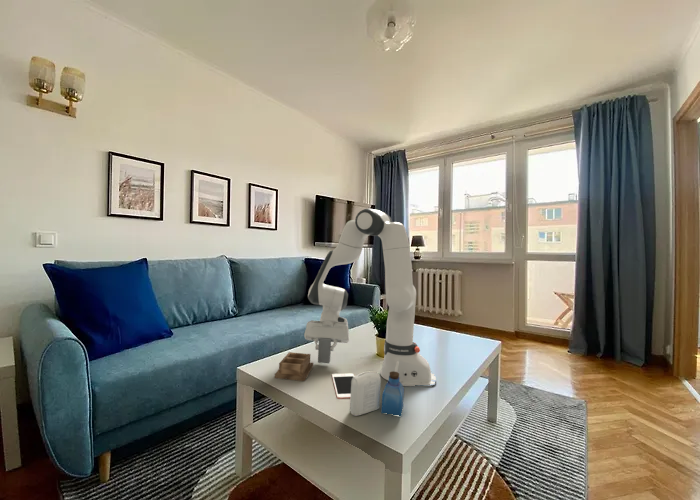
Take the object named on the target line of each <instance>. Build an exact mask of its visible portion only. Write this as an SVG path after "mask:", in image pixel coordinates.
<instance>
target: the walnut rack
mask: <svg viewBox="0 0 700 500" xmlns="http://www.w3.org/2000/svg"><path fill="white" fill-rule="evenodd" d="M313 367H314V362H311V353H301V352H290V351H288V353H287V354H286V355H285V356H284V358H282V359H281V361H280V362H279V363H278V369H277V371H276V372H275V373H274V379H280V380H281V379H282V380H291V381H299V382H305V381H306V379H307V378H308V376H309V374H310V372H311V371H312V370H313Z"/></svg>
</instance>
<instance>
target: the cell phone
mask: <svg viewBox="0 0 700 500" xmlns="http://www.w3.org/2000/svg"><path fill="white" fill-rule="evenodd" d="M354 376H355V375H354V373H332V374H331V377H332V382H333V385H334V391H335V394H336V398H337V399H338V400H339V399H341V400H343V399H350V397H351V381H352V378H353V377H354Z"/></svg>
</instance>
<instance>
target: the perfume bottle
mask: <svg viewBox="0 0 700 500" xmlns="http://www.w3.org/2000/svg"><path fill="white" fill-rule="evenodd" d="M404 395H405V388H404V386H402V384H401V382H399V373H398V372H394V371H393V372H390V376H389V380H387V382H386V384H385V386H384V388H383V391H382V395H381V397H382V398H381V410H380V411H381V414H383V413H387V414H386V415H388V414H393V415H399V416H401V417H402V414H401V413H403V410H402V409H403V408H404V398H405V396H404ZM393 415H392V416H393Z"/></svg>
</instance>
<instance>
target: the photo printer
mask: <svg viewBox="0 0 700 500" xmlns="http://www.w3.org/2000/svg"><path fill="white" fill-rule="evenodd" d="M381 379H382V378H381V374H380V372H378V371H374V370H369V371H367V370H366V371H363V372H360V373H358V374H356V375H354V377H353V378H352V381H351V397H350V398H349V412H350V414H351V415H352V416H355V417H358V416H362V415H365V414H367V413H370V412H374V411H377V410H378V409H379V408H380V396H381V395H380V394H381Z"/></svg>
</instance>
